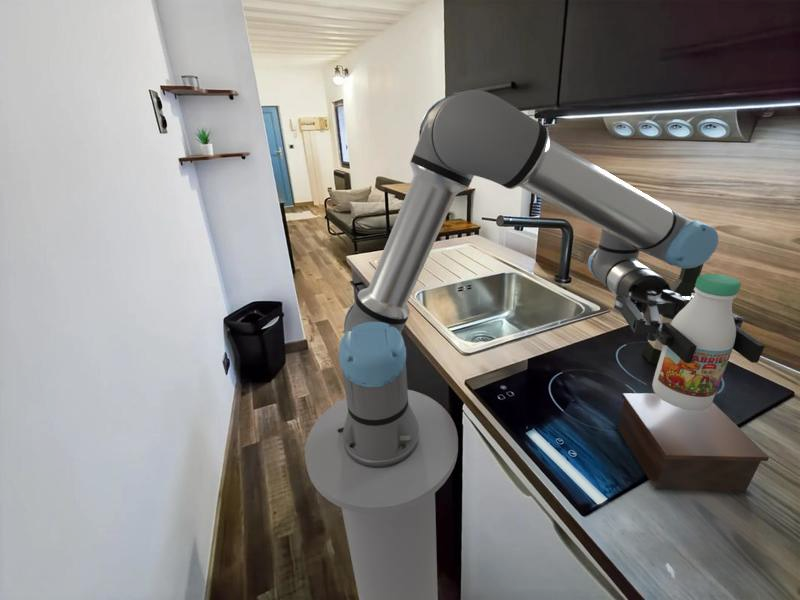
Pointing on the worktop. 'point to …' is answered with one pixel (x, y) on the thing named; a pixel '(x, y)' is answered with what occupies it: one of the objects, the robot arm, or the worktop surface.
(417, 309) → the worktop surface
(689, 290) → the wine bottle
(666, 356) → the milk bottle
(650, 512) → the worktop surface
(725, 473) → the walnut box
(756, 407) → the worktop surface
